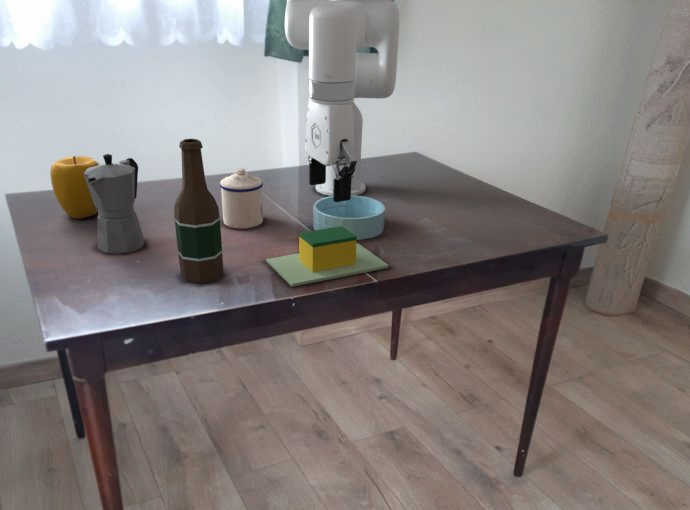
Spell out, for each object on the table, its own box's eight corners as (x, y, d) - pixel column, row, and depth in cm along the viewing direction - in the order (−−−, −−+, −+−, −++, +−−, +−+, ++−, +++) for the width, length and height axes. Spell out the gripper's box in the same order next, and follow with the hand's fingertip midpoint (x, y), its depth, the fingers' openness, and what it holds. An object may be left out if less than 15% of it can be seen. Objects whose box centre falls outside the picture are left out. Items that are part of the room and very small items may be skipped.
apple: (111, 220, 138) (101, 161, 131) (58, 225, 135) (46, 165, 128) (107, 204, 147) (98, 148, 140) (58, 209, 144) (46, 152, 137)
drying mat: (291, 286, 112) (291, 283, 111) (266, 261, 121) (266, 258, 120) (388, 268, 119) (388, 265, 119) (357, 245, 128) (358, 242, 128)
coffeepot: (123, 261, 120) (108, 165, 110) (81, 254, 122) (62, 160, 113) (164, 233, 132) (154, 145, 123) (125, 227, 135) (112, 141, 125)
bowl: (299, 231, 135) (299, 208, 132) (337, 212, 145) (338, 190, 143) (360, 247, 128) (361, 224, 125) (396, 226, 138) (397, 204, 136)
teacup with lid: (271, 224, 138) (270, 171, 132) (234, 232, 133) (231, 178, 127) (244, 209, 146) (242, 158, 140) (209, 216, 142) (205, 164, 135)
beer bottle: (182, 266, 118) (168, 134, 105) (224, 266, 119) (216, 134, 106) (178, 285, 111) (162, 146, 99) (222, 284, 112) (213, 146, 100)
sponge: (312, 272, 116) (312, 244, 113) (299, 260, 120) (299, 232, 117) (355, 264, 119) (356, 236, 116) (340, 252, 124) (341, 225, 121)
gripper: (289, 83, 109) (290, 180, 118) (335, 103, 96) (332, 211, 105) (328, 80, 112) (326, 175, 121) (377, 99, 99) (371, 204, 108)
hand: (329, 192), depth 113 cm, fingers open, 9 cm apart
